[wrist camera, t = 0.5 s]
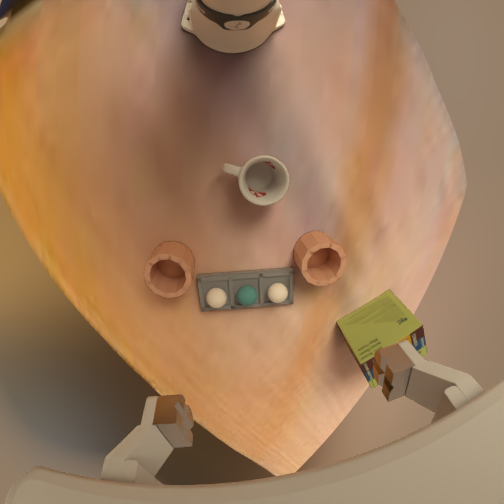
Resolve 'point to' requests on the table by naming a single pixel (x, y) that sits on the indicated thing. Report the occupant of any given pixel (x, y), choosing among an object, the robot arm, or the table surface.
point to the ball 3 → (277, 293)
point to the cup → (261, 179)
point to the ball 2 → (247, 295)
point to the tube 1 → (170, 269)
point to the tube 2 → (319, 258)
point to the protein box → (380, 330)
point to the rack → (238, 279)
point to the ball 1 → (216, 297)
